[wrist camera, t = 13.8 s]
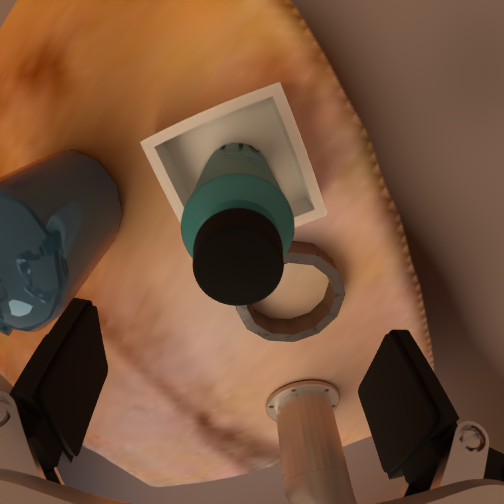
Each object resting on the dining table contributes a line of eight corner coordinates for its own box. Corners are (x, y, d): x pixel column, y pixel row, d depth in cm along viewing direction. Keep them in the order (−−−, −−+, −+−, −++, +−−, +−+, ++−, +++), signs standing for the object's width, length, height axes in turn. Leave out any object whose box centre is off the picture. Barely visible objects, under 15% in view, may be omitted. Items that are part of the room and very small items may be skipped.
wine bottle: (61, 125, 28) (-184, 246, 2) (147, 193, 33) (-22, 456, 6) (18, 215, 33) (-138, 373, 6) (93, 275, 37) (-18, 488, 10)
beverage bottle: (223, 211, 33) (210, 351, 15) (192, 156, 30) (130, 242, 12) (280, 184, 32) (336, 301, 14) (252, 126, 29) (278, 167, 11)
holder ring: (345, 306, 41) (352, 320, 38) (258, 337, 42) (260, 352, 40) (322, 226, 35) (328, 237, 32) (220, 264, 37) (219, 277, 34)
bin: (315, 198, 34) (327, 215, 29) (205, 241, 35) (201, 263, 31) (273, 84, 28) (279, 81, 24) (153, 135, 30) (139, 141, 25)
